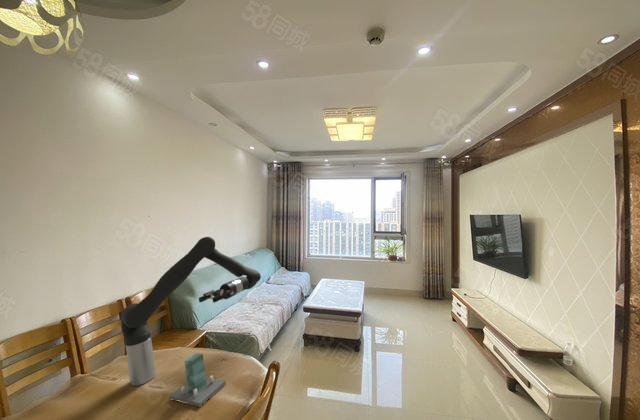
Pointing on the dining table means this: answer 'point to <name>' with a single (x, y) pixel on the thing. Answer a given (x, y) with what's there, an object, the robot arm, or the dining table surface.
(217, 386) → the peg plate
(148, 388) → the dining table surface
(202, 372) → the teal post
